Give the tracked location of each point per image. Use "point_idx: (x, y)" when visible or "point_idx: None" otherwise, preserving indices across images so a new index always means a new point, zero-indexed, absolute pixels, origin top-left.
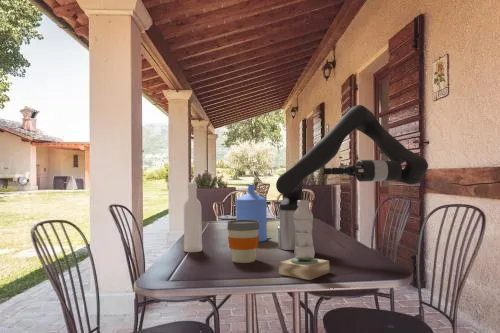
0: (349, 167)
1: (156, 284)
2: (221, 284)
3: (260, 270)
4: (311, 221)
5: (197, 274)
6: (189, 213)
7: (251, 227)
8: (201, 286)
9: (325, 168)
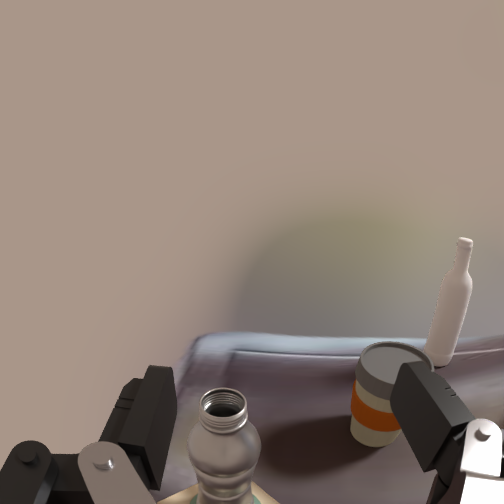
0: (12, 456)
1: (217, 342)
2: (189, 393)
3: (275, 453)
4: (196, 470)
5: (261, 374)
6: (439, 294)
7: (367, 383)
8: (188, 374)
9: (409, 370)
